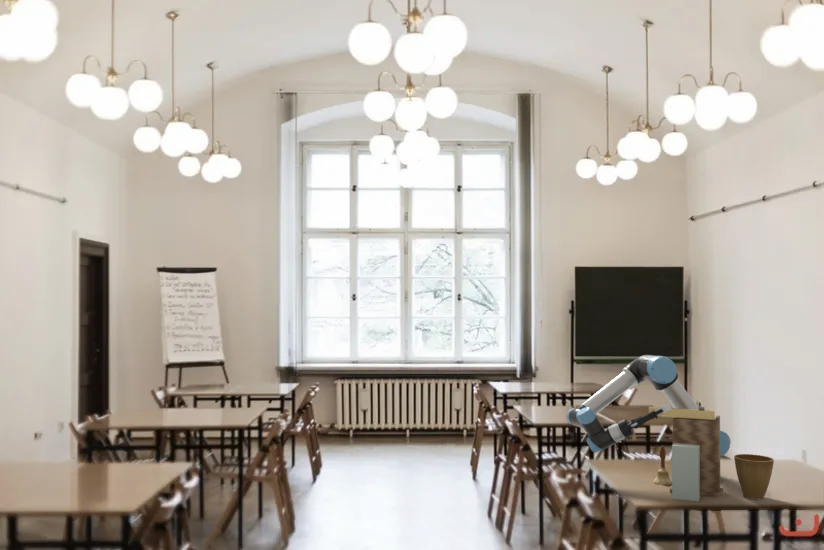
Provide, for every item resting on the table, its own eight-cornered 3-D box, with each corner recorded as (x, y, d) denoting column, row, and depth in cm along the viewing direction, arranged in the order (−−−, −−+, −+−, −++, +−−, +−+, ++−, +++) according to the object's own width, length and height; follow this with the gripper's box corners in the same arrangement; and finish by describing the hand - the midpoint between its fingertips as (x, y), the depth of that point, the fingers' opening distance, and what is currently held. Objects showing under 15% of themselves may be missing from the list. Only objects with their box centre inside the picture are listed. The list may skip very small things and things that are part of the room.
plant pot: (728, 496, 322) (727, 457, 322) (743, 491, 332) (743, 452, 333) (765, 503, 311) (765, 462, 312) (780, 497, 322) (779, 457, 322)
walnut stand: (669, 492, 329) (669, 415, 330) (673, 486, 339) (672, 412, 341) (721, 497, 320) (721, 418, 322) (723, 491, 331) (722, 415, 333)
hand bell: (673, 485, 342) (673, 448, 343) (653, 484, 344) (653, 447, 344) (671, 481, 350) (671, 445, 351) (652, 480, 352) (652, 444, 353)
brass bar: (648, 415, 337) (648, 404, 338) (649, 414, 341) (649, 403, 341) (714, 419, 327) (713, 408, 327) (714, 418, 330) (714, 407, 330)
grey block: (672, 498, 317) (671, 445, 318) (673, 495, 324) (673, 443, 325) (698, 501, 313) (698, 447, 314) (699, 497, 320) (699, 445, 320)
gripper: (629, 435, 350) (677, 411, 342) (622, 441, 335) (673, 416, 327) (620, 420, 352) (668, 396, 344) (613, 425, 337) (663, 399, 329)
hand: (670, 405), depth 336 cm, fingers closed on brass bar, 3 cm apart
